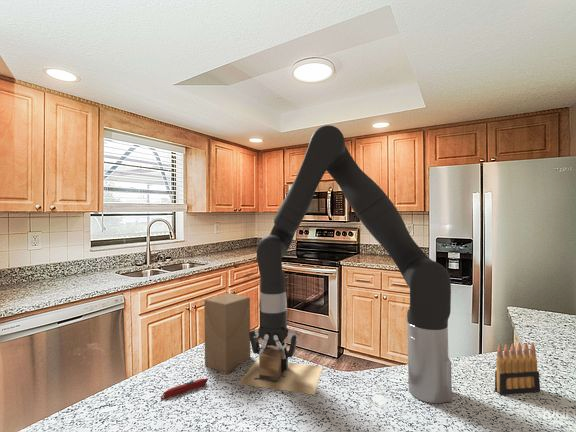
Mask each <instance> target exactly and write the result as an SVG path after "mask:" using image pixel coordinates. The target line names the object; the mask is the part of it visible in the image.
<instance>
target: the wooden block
mask: <svg viewBox="0 0 576 432" xmlns="http://www.w3.org/2000/svg"><path fill="white" fill-rule="evenodd" d="M203 302H204V304H203V306H204V307H203V308H204V309H203V311H204V324H203V325H204V365H205V366H206V367H209V368H210V369H212V370H215V371H217V372H219V373H220V374H221V373H222V374H224V375H229V374H230V373H232V372H234V371H236V369H237V368H238V367H239V366H240V365H241V363H243V362H244V361H247V360H249V359H250V358H251V341H250V337H249V333H250V331H251V299H250V297H249V296H245V295H240V294H235V293H224V294H220V295H217V296H212V297H208V298H205V299H204V301H203Z"/></svg>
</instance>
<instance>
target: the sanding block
mask: <svg viewBox="0 0 576 432" xmlns="http://www.w3.org/2000/svg"><path fill="white" fill-rule="evenodd" d="M286 348H287V349H288V345H287V343H286ZM258 359H259V372H260V379H266V380H273V381H278V380H279V378H280V376H281V374H282V373H283V372H281V359H282V357H281V352H279V351H278V348H277V347H276V346H273V345H271V346H268V347H266V349H265V350H264V351H263V352H262V353H261V354H260V356H259V355H258Z"/></svg>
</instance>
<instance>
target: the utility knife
mask: <svg viewBox="0 0 576 432" xmlns="http://www.w3.org/2000/svg"><path fill="white" fill-rule="evenodd" d="M208 379H209V378H200V379H198V380H191V381H189V382H187V383H186V382H185V383H184V384H180V385H177V386H174V387H171V388H169V389H167V390H166V391H164V392H163V393H162V395H161V397H160V400H166V399H168V398H171V397H175V396H178V395H182V394H185V393H187V392H190V391H193V390H197V389H199V388H203V387H205V386H206V385H207V383H208Z"/></svg>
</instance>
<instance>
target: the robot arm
mask: <svg viewBox="0 0 576 432" xmlns="http://www.w3.org/2000/svg"><path fill="white" fill-rule="evenodd" d="M326 172H327V173H328V174H329V175H330V176H331V178H333V180H334V181H335V183H336V184H337V185H338V187H339V188H340V190H341V192H342V194H343V195H344V198H345V199H346V201H347V203H348V204H349V206H350V207H351V209H352V211H353V212H354V214H355V215H356V217H357V218H358V219H359V220H360V222H361V223H362V224H363V226H364V227H365V228H366V230H368V232H369V234H370V235H371V236H372V237H373V238H374V239H375V240H376V241H377V242H378V244H379V245H380V246H381V247H382V248H384V250H385V251H386V252H387V254H388V255H389V256H390V258H391V259H392V261H393V262H394V264H395V266H396V267H397V268H398V271H399V272H400V274H401V276H402V278H403V280H404V282H405V283H406V285H407V286H408V287H409V308H408V309H407V312H406V319H407V320H406V321H407V322H406V323H407V325H406V326H407V329H406V330H407V372H408V373H407V374H408V377H407V378H408V379H407V382H408V391H409V393H410V394H411V395H412V397H415V398H416V399H418V400H420V401H423V402H427V403H430V404H443V403H447V402H448V403H452V402H453V391H452V390H453V387H452V386H453V385H452V361H451V359H450V358H449V319H450V316H451V307H452V305H451V302H452V299H451V298H452V284H451V276H450V273H449V271H448V270H447V269H446V268H445V266H443V265H442V264H440V263H438V262H437V261H434V260H432V259H431V258H430V257H429V256H428V255H427V254H426V252H424V251H423V250H422V248H421V247H420V246H419V245H418V244H417V243H416V242H415V240H414V239H413V238H412V236H411V234H410V232H409V230H408V228H407V226H406V224H405V222H404V220H403V217H402V216H401V214H400V212H399V210H398V209H397V207H396V206H395V204H394V203H393V202H392V200H391V199H390V198H389V196H388V195H387V194H386V193H385V191H384V190H383V188H381V187H380V186H379V185H378V184H377V182H375V181H374V180H373V179H372V178H371V177H370V176H369V175H368V174H366V173H365V172H364V171H363V170H362V169H361V167H360V166H359V165H358V164H357V163H356V161H355V159H354V158H353V156H352V155H351V152H349V150H348V148H347V146H346V140H345V137H344V134H343V133H342V131H341V130H340V128H338V127H336V126H334V125H323V126H320V127H317V128H316V129H315V131H314V132H313V133H312V135H311V137H310V140H309V142H308V147H307V149H306V152H305V154H304V158H303V160H302V162H301V165H300V167H299V169H298V172H297V174H296V177H295V179H294V180H293V182H292V185H291V186H290V188H289V190H288V192H287V194H286V196H285V198H284V199H283V201H282V202H281V205H280V207H279V208H278V210H277V213H276V214H275V216H274V219H273V226H272V229H271V231H270V233H269V235H268V236H264V237H262V238H260V240H259V242H258V243H257V245H256V261H257V265H258V272H259V276H260V277H259V282H260V285H259V289H260V292H259V301H258V302H259V304H258V308H259V327H258V329H255V328H253V329H251V330H250V333H249V337H250V347H251V349H252V353H253V354H257V355H258V357H259V356H260V354H261V353H262V352H263V351H264V350H265V349H266V347H268V346H271V345H273V346H276V347H277V348H278V351H279V352H281V357H282V359H281V372H283V373H284V372H285V370H286V369H287V367H288V362H289V358H293V356H294V354H295V352H296V347H297V342H298V337H299V333H298V332H294V333H293V332H289V329H288V315H287V314H288V309H287V308H288V306H287V305H288V302H287V301H288V300H287V291H286V290H287V289H286V286H287V285H286V273H285V271H284V270H283V262H282V261H283V260H282V258H283V257H285V256H286V254H287V252H288V251H289V248H290V247H291V244H292V242H293V239H294V237H295V233H296V232H297V230H298V228H299V226H300V225H301V223H302V221H303V219H304V217H305V216H306V213H307V212H308V210H309V208H310V205H311V203H312V200H313V198H314V196H315V194H316V193H315V192H317V191H316V190H317V188H318V186H319V184H320V182H321V180H322V178H323V177H324V175H325V174H326ZM258 337H260V338H261V339H262V343H261V346H260V343H259V338H258ZM287 338H288V341H289V342H290V345H289V349H288V347H287V348H286V344H287V343H286V339H287Z"/></svg>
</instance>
